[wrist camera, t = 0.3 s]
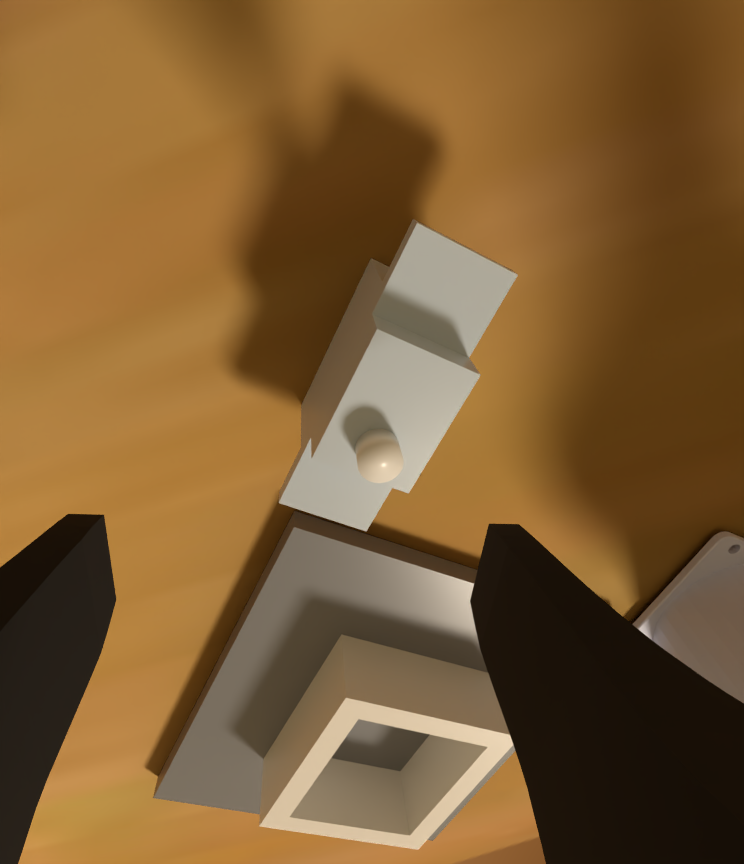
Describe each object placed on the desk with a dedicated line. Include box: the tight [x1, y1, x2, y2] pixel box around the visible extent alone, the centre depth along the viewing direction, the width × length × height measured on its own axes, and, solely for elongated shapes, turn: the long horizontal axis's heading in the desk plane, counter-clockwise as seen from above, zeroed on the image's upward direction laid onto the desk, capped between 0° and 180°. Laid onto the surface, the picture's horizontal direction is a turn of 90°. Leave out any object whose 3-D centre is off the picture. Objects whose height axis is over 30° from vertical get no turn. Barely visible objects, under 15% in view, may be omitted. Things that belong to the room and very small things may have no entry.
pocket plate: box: [153, 511, 515, 849], centre depth 26 cm, size 16×18×4 cm
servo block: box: [279, 219, 518, 531], centre depth 17 cm, size 3×9×6 cm, turn 154°
